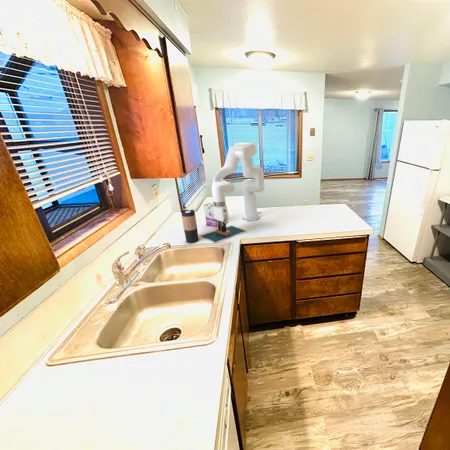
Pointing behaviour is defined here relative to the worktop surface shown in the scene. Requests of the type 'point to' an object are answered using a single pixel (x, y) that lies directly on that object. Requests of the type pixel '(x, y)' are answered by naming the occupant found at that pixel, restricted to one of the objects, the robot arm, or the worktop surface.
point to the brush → (224, 233)
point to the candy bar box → (210, 215)
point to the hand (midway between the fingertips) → (222, 230)
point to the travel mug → (190, 226)
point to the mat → (216, 238)
